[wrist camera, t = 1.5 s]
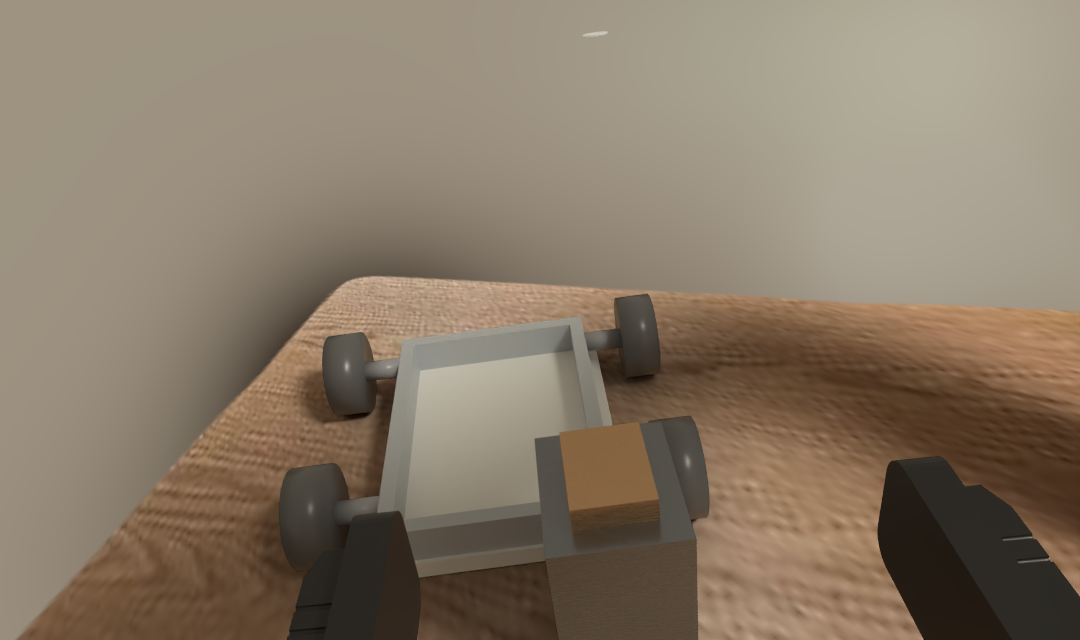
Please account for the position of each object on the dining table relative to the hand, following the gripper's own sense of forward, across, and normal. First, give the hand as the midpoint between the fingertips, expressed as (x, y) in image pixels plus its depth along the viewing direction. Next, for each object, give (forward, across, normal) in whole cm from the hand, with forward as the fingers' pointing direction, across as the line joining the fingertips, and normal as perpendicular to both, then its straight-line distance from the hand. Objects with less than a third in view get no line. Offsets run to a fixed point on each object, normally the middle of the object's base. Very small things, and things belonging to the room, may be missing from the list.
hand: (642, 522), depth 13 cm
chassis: (+26, +5, +20) cm, 33 cm away
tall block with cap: (+12, 0, +20) cm, 23 cm away
